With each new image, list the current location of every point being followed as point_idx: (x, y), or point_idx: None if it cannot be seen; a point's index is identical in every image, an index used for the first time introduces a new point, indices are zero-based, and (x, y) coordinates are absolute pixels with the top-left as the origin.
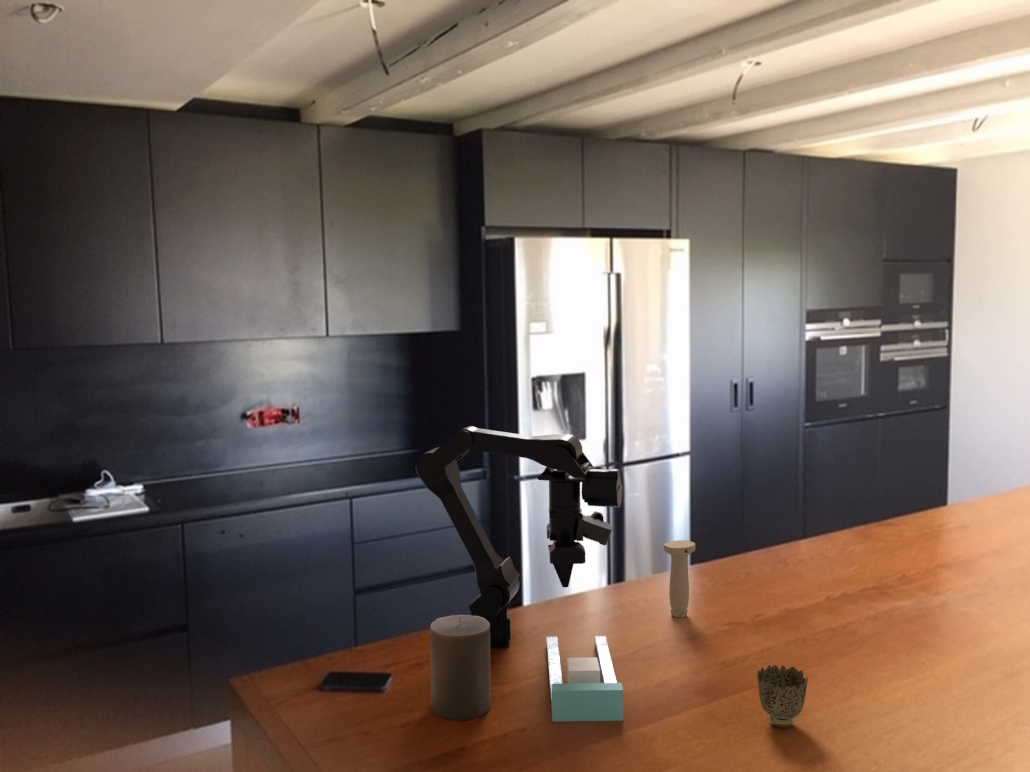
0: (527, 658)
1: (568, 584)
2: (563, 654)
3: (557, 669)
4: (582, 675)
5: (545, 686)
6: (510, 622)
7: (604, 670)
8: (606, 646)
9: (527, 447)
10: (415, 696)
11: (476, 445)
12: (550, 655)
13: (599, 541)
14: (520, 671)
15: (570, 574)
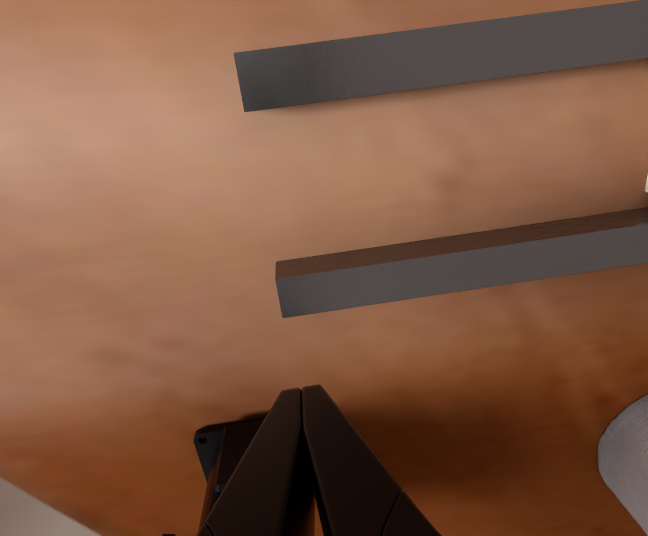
0: (383, 343)
1: (329, 397)
2: (342, 232)
3: (586, 245)
4: None
5: None
6: (229, 462)
7: (626, 49)
8: (365, 44)
9: None
10: (595, 527)
11: None
12: (461, 282)
13: None
14: (480, 348)
15: (386, 469)
